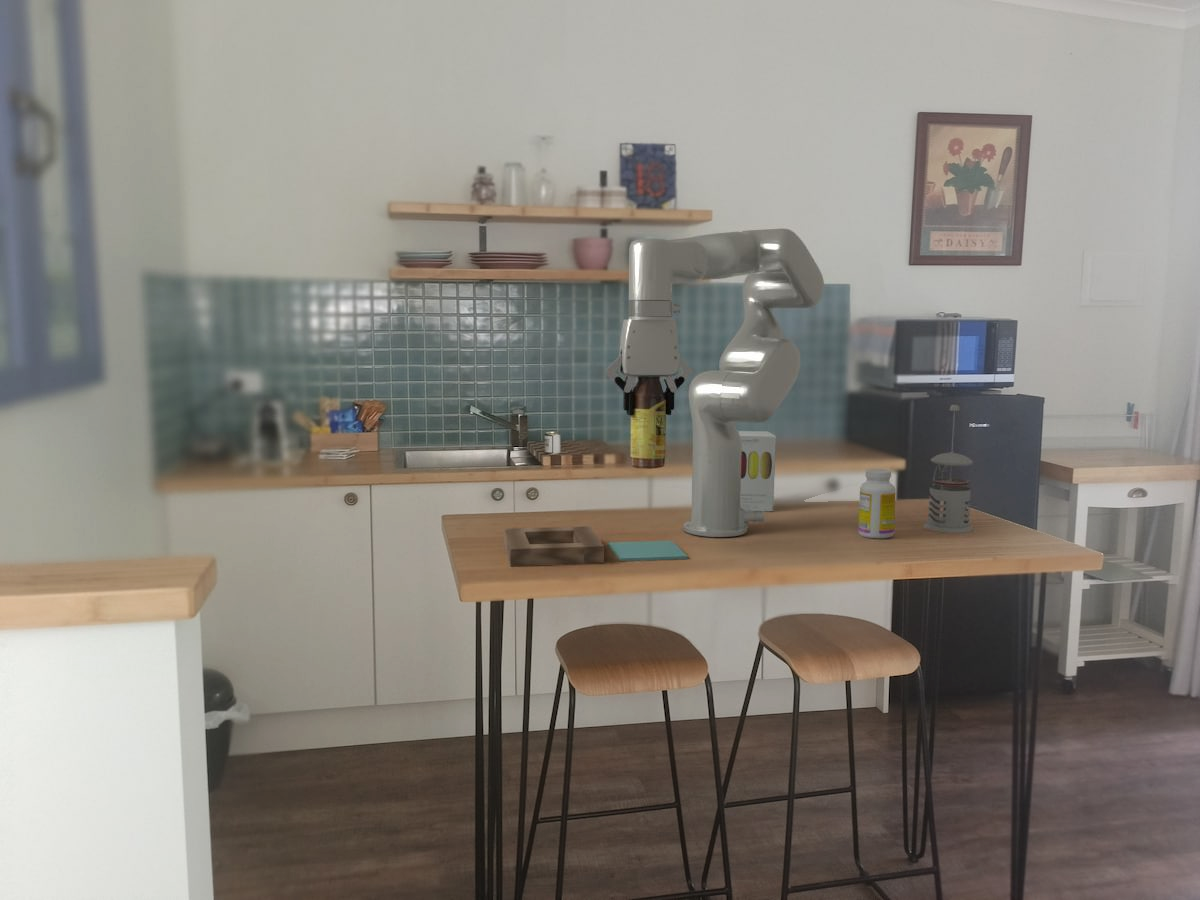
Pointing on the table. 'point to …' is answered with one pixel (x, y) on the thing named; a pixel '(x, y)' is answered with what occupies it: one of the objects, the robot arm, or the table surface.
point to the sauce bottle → (648, 424)
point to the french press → (949, 494)
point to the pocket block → (553, 546)
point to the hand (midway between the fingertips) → (648, 413)
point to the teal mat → (647, 550)
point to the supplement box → (757, 470)
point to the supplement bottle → (877, 505)
